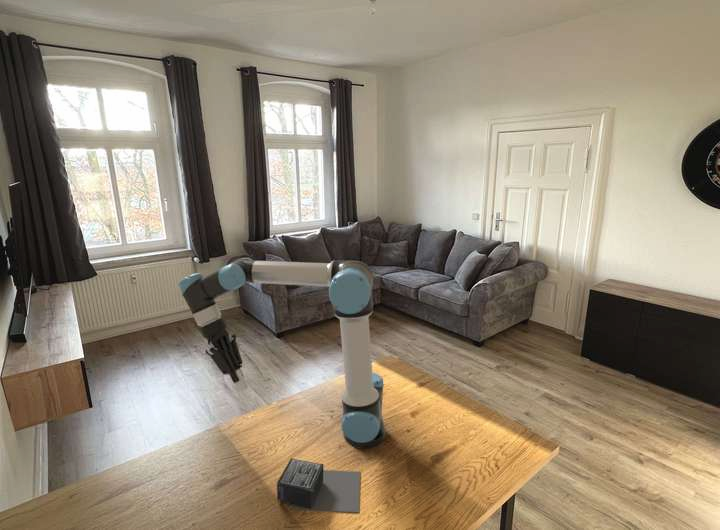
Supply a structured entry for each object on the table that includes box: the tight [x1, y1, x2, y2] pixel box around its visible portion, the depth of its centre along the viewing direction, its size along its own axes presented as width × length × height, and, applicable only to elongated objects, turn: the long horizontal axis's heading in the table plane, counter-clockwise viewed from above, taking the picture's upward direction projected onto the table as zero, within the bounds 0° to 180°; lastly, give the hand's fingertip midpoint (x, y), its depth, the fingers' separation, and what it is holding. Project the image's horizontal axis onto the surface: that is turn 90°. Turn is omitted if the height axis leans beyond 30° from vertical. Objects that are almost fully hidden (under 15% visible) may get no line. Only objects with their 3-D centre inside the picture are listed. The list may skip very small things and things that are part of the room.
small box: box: [276, 458, 324, 508], centre depth 112 cm, size 11×6×10 cm
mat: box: [289, 469, 361, 514], centre depth 114 cm, size 19×15×1 cm
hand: (243, 389), depth 122 cm, fingers closed
